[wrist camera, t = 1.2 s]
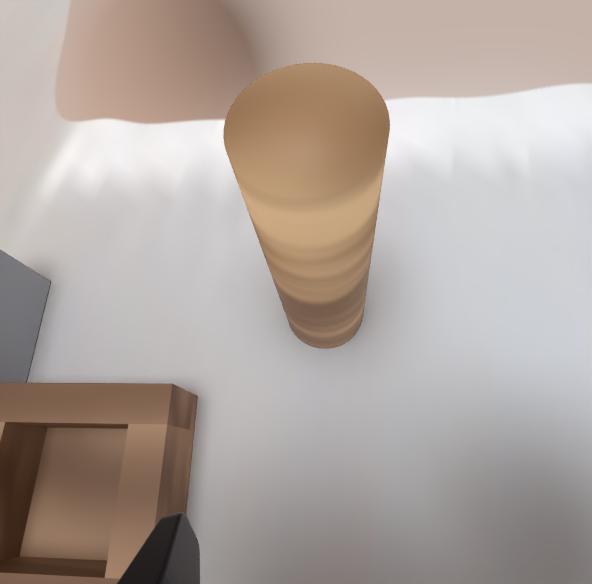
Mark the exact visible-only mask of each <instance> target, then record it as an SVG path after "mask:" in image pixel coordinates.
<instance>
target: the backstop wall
mask: <svg viewBox="0 0 592 584" xmlns="http://www.w3.org/2000/svg"><path fill="white" fill-rule="evenodd" d="M50 283H51V281H49V280H48V279H46V278H44V277H43V276H41V275H40V274H38V273H37V272H35V271H33V270H32V269H30V268H29V267H27V266H25V265H24V264H22V263H21V262H19V261H18V260H16V259H14V258H13V257H11V256H10V255H8V254H7V253H5V252H3V251H2V250H0V383H26V382H27V377H28V373H29V369H30V365H31V361H32V357H33V353H34V349H35V344H36V340H37V336H38V332H39V328H40V324H41V320H42V316H43V311H44V307H45V303H46V299H47V295H48V291H49V287H50Z"/></svg>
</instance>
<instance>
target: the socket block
mask: <svg viewBox="0 0 592 584" xmlns="http://www.w3.org/2000/svg"><path fill="white" fill-rule="evenodd" d="M197 398H198V396H196V395H194V394H192V393H190V392H188V391H186V390H184V389H182V388H180V387H178V386H176V385H174V384H125V383H0V584H117V583H118V581H119V580H120V578H121V577H122V575H123V574H124V572H125V571H126V569H127V568H128V566H129V565H130V563H131V562H132V560H133V559H134V557H135V556H136V554H137V553H138V551H139V550H140V548H141V547H142V545H143V544H144V542H145V541H146V539H147V538H148V536H149V535H150V534H151V532H152V531H153V529H154V528H155V526H156V525H157V523H158V522H159V520H160V519H161V518H162V517H164V516H166V515H170V514H174V513H177V512H183V513H184V514H185V515H186V507H187V497H188V487H189V477H190V468H191V458H192V448H193V438H194V428H195V418H196V408H197Z"/></svg>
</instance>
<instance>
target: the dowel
mask: <svg viewBox="0 0 592 584" xmlns="http://www.w3.org/2000/svg"><path fill="white" fill-rule="evenodd" d="M389 130H390V120H389V113H388V110H387V107H386V104H385V102H384V100H383V98H382V96H381V95H380V93H379V92H378V91H377V89H376V88H375V87H374V86H373V85H372V84H371V83H370V82H368V81H367V80H366V79H364V78H363V77H362V76H360V75H358V74H357V73H355V72H352V71H350V70H348V69H345V68H342V67H339V66H335V65H330V64H323V63H304V64H295V65H291V66H286V67H283V68H280V69H276V70H274V71H272V72H269V73H267V74H265V75H264V76H262V77H260V78H259V79H257V80H256V81H254V82H253V83H251V84H250V85H249V86H248V87H246V88H245V89H244V90H243V91H242V93H241V94H240V95H239V96H238V97H237V98H236V100H235V101H234V103H233V104H232V106H231V108H230V110H229V112H228V114H227V117H226V120H225V125H224V144H225V148H226V152H227V155H228V157H229V160H230V163H231V166H232V168H233V171H234V174H235V177H236V179H237V182H238V185H239V187H240V190H241V193H242V196H243V198H244V201H245V204H246V207H247V209H248V212H249V215H250V218H251V220H252V223H253V226H254V228H255V231H256V234H257V237H258V239H259V242H260V245H261V248H262V250H263V253H264V256H265V258H266V261H267V264H268V267H269V269H270V272H271V275H272V278H273V280H274V283H275V286H276V289H277V291H278V294H279V297H280V299H281V302H282V305H283V308H284V310H285V313H286V316H287V319H288V321H289V324H290V327H291V329H292V330H293V332H294V333H295V335H296V336H297V337H298V338H299V339H300V340H301V341H303V342H304V343H306V344H308V345H310V346H313V347H317V348H333V347H337V346H340V345H342V344H344V343H346V342H347V341H349V340H350V339H351V338H352V337H353V336H354V335H355V334H356V332H357V331H358V329H359V327H360V325H361V322H362V317H363V310H364V303H365V296H366V289H367V282H368V275H369V268H370V261H371V254H372V247H373V241H374V234H375V227H376V220H377V213H378V206H379V199H380V192H381V185H382V178H383V171H384V164H385V158H386V151H387V144H388V137H389Z"/></svg>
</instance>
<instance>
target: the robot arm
mask: <svg viewBox="0 0 592 584" xmlns="http://www.w3.org/2000/svg"><path fill="white" fill-rule="evenodd" d="M117 584H200V552H199V544H198V540H197V538H196V535H195V533H194V531H193V529H192V527H191V525H190V523H189V521H188V519H187V517H186V515H185V514H184V513H183V512H177V513H174V514H170V515H166V516H164V517H162V518H161V519H160V520H159V522H158V523H157V525H156V526H155V528H154V529H153V531H152V532H151V534H150V535H149V536H148V538H147V539H146V541H145V542H144V544H143V545H142V547H141V548H140V550H139V551H138V553H137V554H136V556H135V557H134V559H133V560H132V562H131V563H130V565H129V566H128V568H127V569H126V571H125V572H124V574H123V575H122V577H121V578H120V580H119V581H118V583H117Z"/></svg>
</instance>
